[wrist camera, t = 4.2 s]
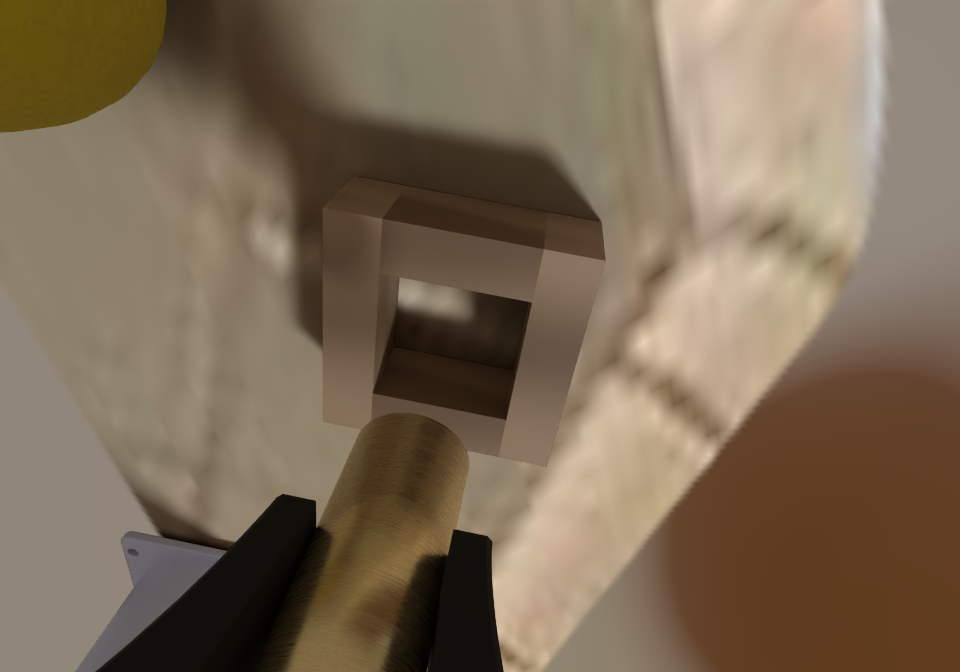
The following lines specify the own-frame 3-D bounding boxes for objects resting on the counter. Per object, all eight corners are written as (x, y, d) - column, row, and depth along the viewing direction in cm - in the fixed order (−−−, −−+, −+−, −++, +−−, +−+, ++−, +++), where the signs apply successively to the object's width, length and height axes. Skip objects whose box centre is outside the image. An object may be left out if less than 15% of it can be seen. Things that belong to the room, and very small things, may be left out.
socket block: (549, 413, 20) (546, 466, 18) (348, 374, 21) (322, 421, 18) (601, 221, 16) (605, 260, 14) (354, 176, 17) (322, 207, 15)
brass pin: (461, 507, 14) (351, 1043, 7) (354, 485, 14) (143, 994, 7) (476, 426, 12) (355, 998, 6) (357, 402, 12) (97, 937, 6)
